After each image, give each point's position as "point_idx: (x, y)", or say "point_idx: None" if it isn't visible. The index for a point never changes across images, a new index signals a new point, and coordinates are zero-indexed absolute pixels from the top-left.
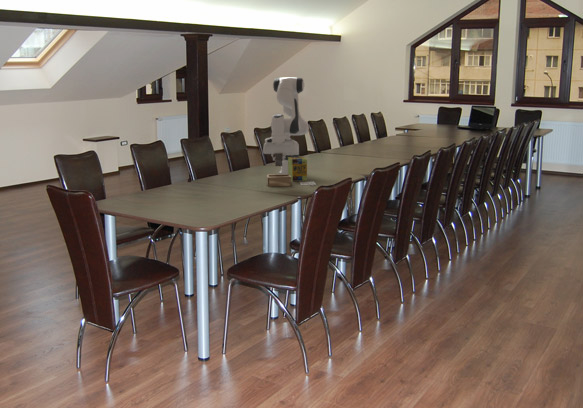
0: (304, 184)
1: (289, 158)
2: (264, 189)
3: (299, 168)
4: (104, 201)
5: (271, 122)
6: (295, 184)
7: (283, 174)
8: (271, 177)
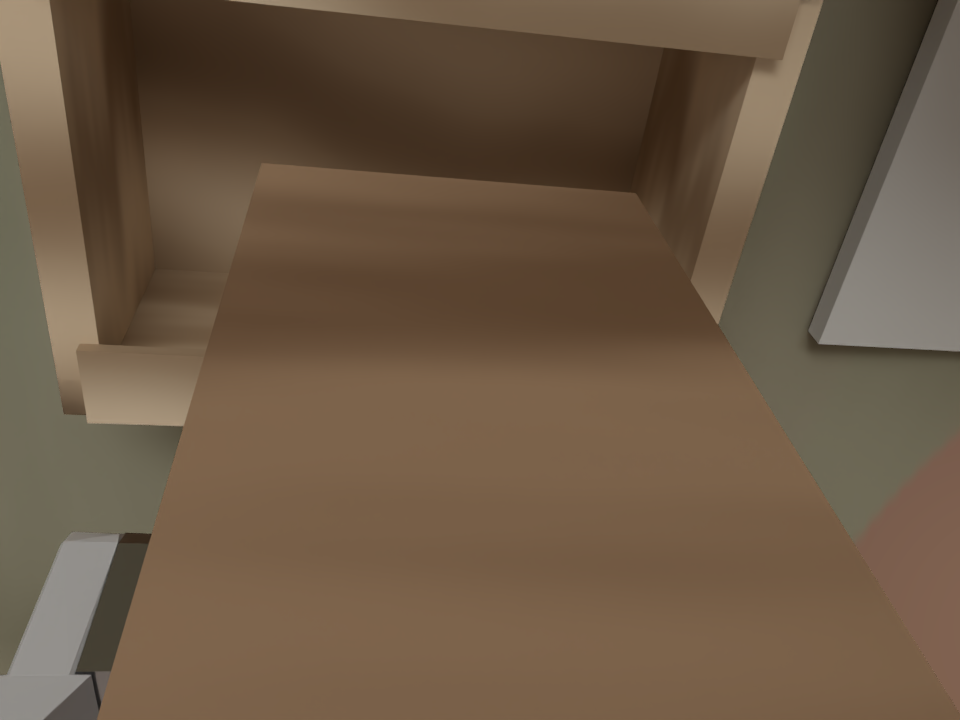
0: (905, 312)
1: None
2: (76, 510)
3: None
4: None
5: None
6: (794, 113)
7: (602, 34)
8: (173, 420)
